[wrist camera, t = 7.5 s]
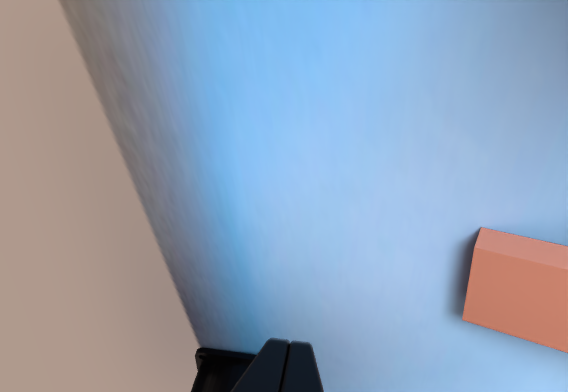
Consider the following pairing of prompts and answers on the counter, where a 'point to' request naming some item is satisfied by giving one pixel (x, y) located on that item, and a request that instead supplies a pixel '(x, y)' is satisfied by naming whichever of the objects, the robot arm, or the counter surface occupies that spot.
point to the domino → (519, 288)
